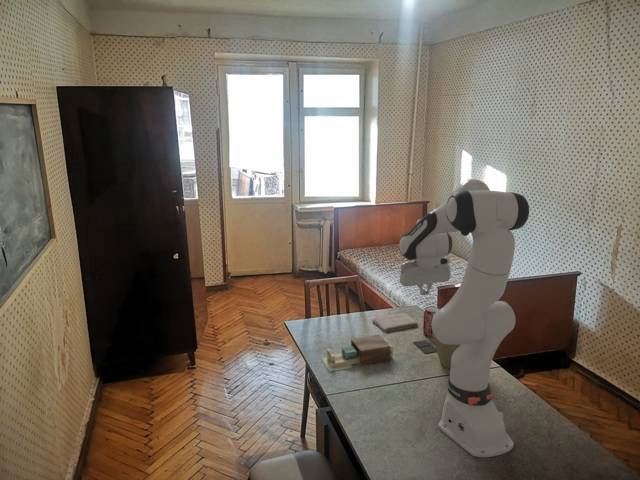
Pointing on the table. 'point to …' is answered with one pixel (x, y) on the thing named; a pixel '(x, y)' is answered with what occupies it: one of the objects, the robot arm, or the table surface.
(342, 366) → the pad
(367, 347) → the tunnel
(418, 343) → the plate
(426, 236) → the robot arm
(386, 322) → the washcloth
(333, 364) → the board
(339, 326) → the table surface
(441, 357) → the plant pot
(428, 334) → the soda can
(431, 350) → the pit pad
